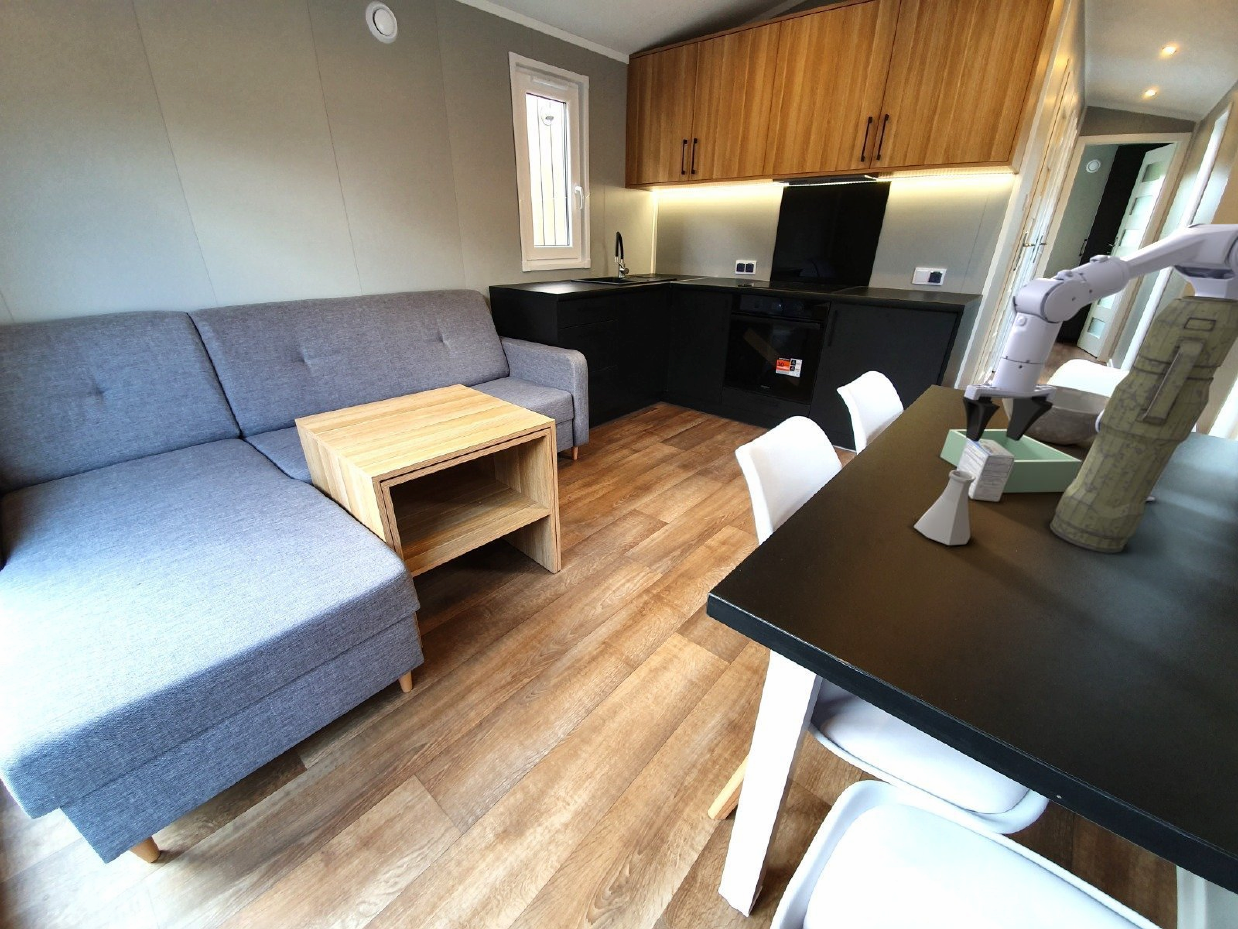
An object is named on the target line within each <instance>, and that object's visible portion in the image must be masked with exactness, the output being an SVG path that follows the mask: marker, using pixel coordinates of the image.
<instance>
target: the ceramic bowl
mask: <svg viewBox="0 0 1238 929" xmlns="http://www.w3.org/2000/svg"><path fill="white" fill-rule="evenodd" d="M1037 385H1048V386H1051V387H1055V388H1057V391H1056V393H1055V395H1054V398H1053V399H1052V400H1047V399H1046V401H1049V402H1051V403H1053V406H1052V408H1051V409H1050V410H1049V411H1047V412H1046V413H1044V414H1043V415H1042V416H1041V417H1040V418H1038V419H1037V420H1036V421H1035V422H1034V423H1033V424H1032V425H1031V427H1030V428H1029V429H1028V430H1027V431H1026V433H1025V434H1024V435H1025V436H1027V437H1029V438H1032V439H1034V440H1036V441H1043V442H1046V443H1051V444H1056V445H1071V444H1072V445H1073V444H1077V443H1081V442H1084V441H1086V440H1088V439H1091V438H1092V437H1093V436H1097V434H1098V432H1097V431H1096V427H1095V425H1096V420H1097V418H1098V416H1099V415H1100V413H1101V412H1102V411H1103V410H1105V408H1106V406H1107V404H1108V402H1109V400H1110V398H1111V396H1108V395H1103V394H1099V393H1095V392H1091V391H1087V390H1081V389H1077V388H1073V387H1068V386H1061V385H1055V384H1047V383H1046V384H1045V383H1037ZM1001 401H1002V405H1003V408H1004V411H1005V415H1006V416H1007V419H1008V421H1009V422H1010V419H1011V415H1012V409H1013V398H1004V399H1001Z"/></svg>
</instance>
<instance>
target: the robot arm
mask: <svg viewBox="0 0 1238 929" xmlns="http://www.w3.org/2000/svg"><path fill="white" fill-rule="evenodd" d="M1170 267H1171V269H1173V270H1174V271H1175V272H1176V273H1177V274H1179V275H1180V277H1181V278H1183V279H1184V280H1185V281H1186V282H1188V283H1190V285H1191V286H1192V288H1193V290H1194V293H1195V294H1194V296H1203V297H1216V298H1227V299H1236V300H1238V223H1210V224H1209V223H1199V222H1198V223H1192V224H1190V225H1187V226H1185V227H1182V228H1178V229H1174V230H1173V231H1172V232H1171V234H1170V235H1169V236H1167V237H1165V238H1162V239H1161V240H1158V241H1155V242H1154V243H1152V244H1149V245H1147V246H1145V247H1143V248H1141V249H1138V250H1136V251H1134V252H1132V253H1129V254H1127V255H1125V256H1123V257H1121V258H1120V257H1117V256H1115V255H1107V254H1105V255H1104V254H1097V255H1094V256H1092V257H1090V259H1089V262H1087V263H1084V264H1082V265H1080V266H1077V267H1074V268H1072V269H1063V270H1059V271H1058V272H1057V274H1056V275H1054V276H1052V277H1051V278H1043V277H1040V278H1035V279H1032V280H1029V281H1028V282H1027V283H1025V284H1024V285H1022V287H1021V288H1019V290H1018V291H1017V292H1016V295H1013V296H1012V297H1011V300H1010V301H1011V302H1010V308H1011V311H1012V318H1011V321H1010V324H1011V329H1010V331H1009V335H1008V337H1007V340H1006V342H1005V345H1004V348H1003V351H1002V353H1001V357H1000V360H999V362H998V365H997V367H996V370H995V373H994V375H993V378H992V379H989V380H988V381H987V382H984V383H978V384H968V385H967V386H966V389H965V392H964V394H963V397H962V402H963V407H964V410H965V415H966V416H965V417H966V438H968V439H970V440H972V441H975V442H978V441H979V440H980V438H981V437H982V435H983V433H984V430H985V429H986V428H987V426H988V424H989V422H990V420H991V419H992V418H993V416H994V415H995V414H996V413H997V412H998V410H999V409H1000V408H1001V406H1000V405H998V404H996V403H993V400H992V399H995V400H996V399H1000V400H1002V399H1004V398H1013V409H1012V415H1011V419H1010V421H1009V422H1008V425H1007V428H1006V429H1007V432H1006V437H1008V438H1010V439H1012V440H1015V441H1019V440H1020V439H1021V438H1022V436H1023V435H1024V434H1025V433H1026V431H1027V430H1028V429H1029V428H1030V427H1031V425H1032V424H1033V423H1034V422H1035V421H1036V420H1037V419H1038V418H1040V417H1041V416H1042V415H1043V414H1044V413H1046V412H1047V411H1049V410H1050V409H1051V408H1052V406H1053V403H1051V402H1049V401H1046V399H1047V400H1052V399H1053V398H1054V395H1055V393H1056V391H1057V388H1055V387H1051V386H1048V385H1049V384H1048V385H1037V384H1039V381H1040V378H1041V376H1042V374H1043V371H1044V368H1045V366H1046V364H1047V361H1048V358H1049V357H1050V354H1051V351H1052V349H1053V347H1054V344H1055V342H1056V339H1057V337H1058V334H1059V332H1060V330H1061V327H1062V324H1063V322H1065V321H1069V320H1070V319H1072V318H1073V317H1074V316H1075V315H1076V314H1077V313H1078V312H1079V311H1080V310H1081V309H1082V308H1083V307H1085V306H1087V305H1089V304H1092V303H1094V302H1097V301H1100V300H1103V299H1105V298H1108V297H1110V296H1112V295H1116V294H1118V293H1120V292H1122V291H1123V290H1124V289H1125V288H1126V287H1127V285H1128V284H1129V281H1131V280H1134V279H1137V278H1140V277H1143V276H1145V275H1148V274H1152V273H1155V272H1159V271H1161V270H1164V269H1167V268H1170ZM1103 412H1104V410H1103V411H1102V412H1101V413H1100V415H1099V416H1098V418H1097V420H1096V425H1095V427H1096V431H1097V432H1099V430H1100V418H1101V416H1102V414H1103ZM1166 468H1167V466H1166V467H1165V468H1164V470H1163V472H1162V474H1161V476H1160V477H1159V479H1158V481H1157V483H1156V484H1155V486H1154V488H1153V490H1152V491H1151V493H1150V495H1149V497H1148V498H1147V500H1146V502H1153V501H1155V497H1153V496H1151V495H1152V493H1153V491H1154V489H1155V488H1156V486H1157V484H1158V483H1159V481H1160V479H1161V478H1162V476H1163V474H1164V472H1165V470H1166ZM1075 479H1076V478H1074V480H1073V482H1074V481H1075ZM1073 482H1072V483H1073Z"/></svg>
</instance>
